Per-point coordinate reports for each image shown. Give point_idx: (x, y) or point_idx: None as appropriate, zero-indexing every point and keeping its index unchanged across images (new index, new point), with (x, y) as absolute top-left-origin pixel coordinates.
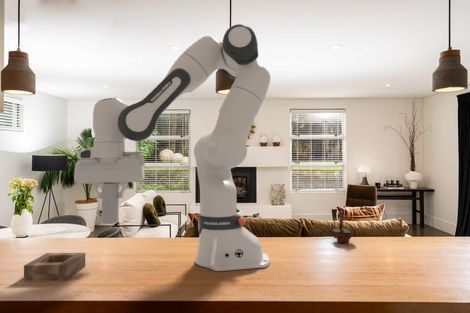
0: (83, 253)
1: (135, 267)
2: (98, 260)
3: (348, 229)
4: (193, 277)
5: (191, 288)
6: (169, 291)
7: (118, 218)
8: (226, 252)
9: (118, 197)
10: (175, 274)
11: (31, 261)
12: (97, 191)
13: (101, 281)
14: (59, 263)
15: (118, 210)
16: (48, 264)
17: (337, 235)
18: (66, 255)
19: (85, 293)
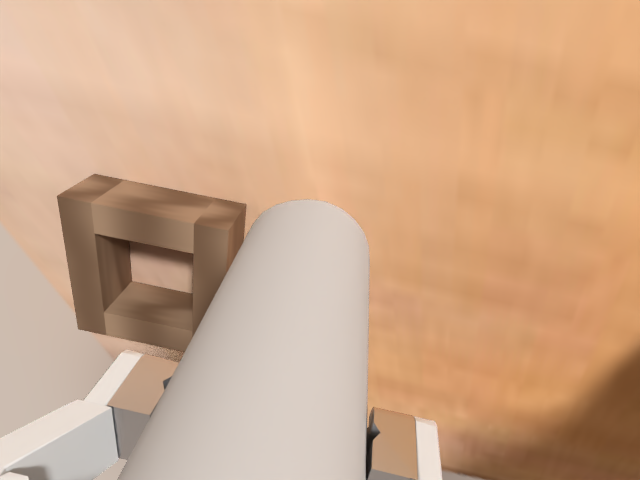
0: (224, 241)
1: (450, 261)
2: (278, 128)
3: None
4: (636, 397)
5: (595, 454)
6: (530, 453)
7: (369, 267)
8: None
9: (367, 442)
10: (586, 361)
11: (73, 293)
12: (88, 466)
13: None
14: (185, 338)
15: (368, 314)
16: (153, 338)
17: None
18: (161, 245)
19: None
